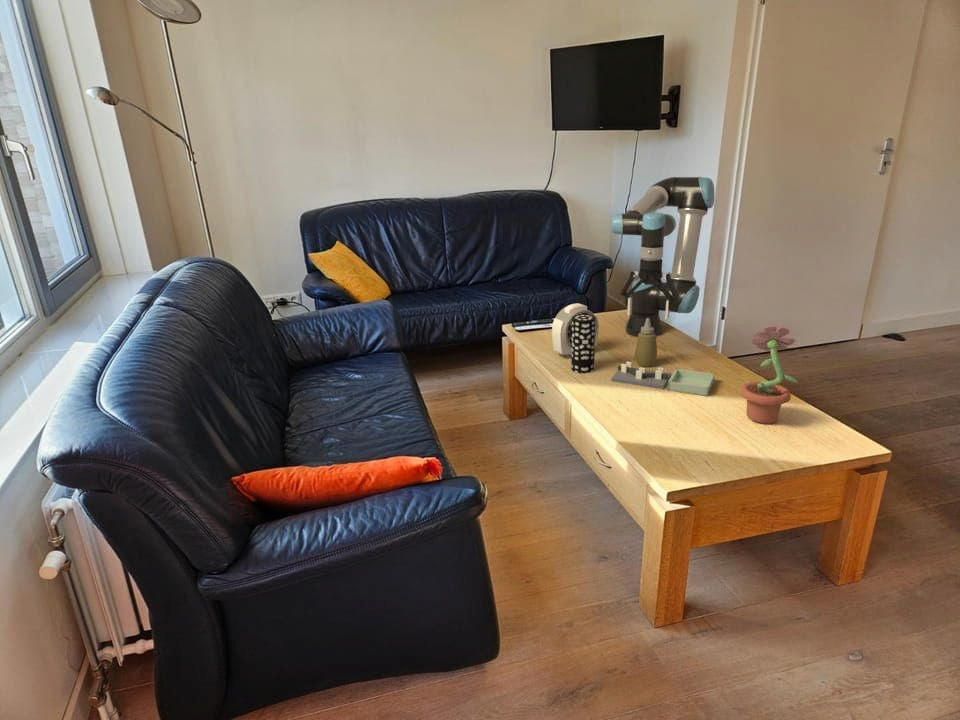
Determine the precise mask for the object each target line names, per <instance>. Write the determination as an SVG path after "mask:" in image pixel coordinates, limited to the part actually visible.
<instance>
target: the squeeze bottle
mask: <svg viewBox="0 0 960 720" xmlns="http://www.w3.org/2000/svg"><path fill="white" fill-rule="evenodd" d="M657 342H658V341H657V336H656V334H655V333H654V328H653V327H651V323H650V318H646V322H645V325H644V326H643V327H641V332H640V333H639V334H638V336H637V340H636V346H635V353H634V357H635V361H636V364H637V365H638V366H640V367H642V368H649V367H652V366H654V365H655V362H656V360H657V358H658V348H657V347H658V345H657Z"/></svg>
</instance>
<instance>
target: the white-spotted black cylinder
mask: <svg viewBox="0 0 960 720" xmlns="http://www.w3.org/2000/svg"><path fill="white" fill-rule="evenodd" d="M595 348H596V347H595V316H593V315H588V314H579V315H574V316H573V317H572V358H570V361H571V362H570V363H571V364H570V365H571V367H570V368H571V369H570V370H571V371H572V372H574V373H578V374H588V373H589V374H590V373H592V372H594V371H595Z"/></svg>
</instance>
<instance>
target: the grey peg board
mask: <svg viewBox="0 0 960 720" xmlns="http://www.w3.org/2000/svg"><path fill="white" fill-rule="evenodd" d="M664 371H665V368H664V367H657V370H650V369H646V367H639V368H638V367H637V368H636V367H633V362H631V361H628V360H627V361H626V362H625V363H621V365H620V364H619V365H618V366H617V371H616V372H615V373H614V374H613V376H612V377H611V380H610V381H611V382H616V383H620V384H621V383H622V384H629V385H633V386H634V385H635V386H641V387H648V388H655V389H660V390H663V389H664V388H666V386H667V385H668V381H669V379H670V378H671V376H672V373H671V372H664Z"/></svg>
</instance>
